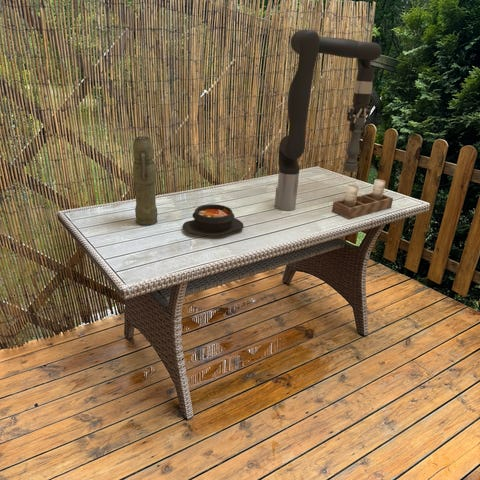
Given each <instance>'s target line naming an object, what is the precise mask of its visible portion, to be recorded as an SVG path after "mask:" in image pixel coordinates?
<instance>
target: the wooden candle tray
mask: <svg viewBox="0 0 480 480" xmlns="http://www.w3.org/2000/svg"><path fill="white" fill-rule="evenodd" d="M386 182H387V181H386V180H384V179H380V178H377V179H374V182H373V186H372V192H369V193H365V194H361V195H358V191H359V186H357V185H355V184H348V185H346V191H345V197H344V199H339V200H338V199H337V200H335V201H333V202H332V208H331V212H332V213H334V214H336V215H338V216H341V217H342V218H344V219H347V220H352V219H355V218H359V217H362V216H367V215H371V214H374V213H377V212H381V211H385V210H389V209H391V208H392V205H393V201H394V198H393V197H391V196H388V195H386V194H384V191H385V187H386V186H385V185H386Z"/></svg>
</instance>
